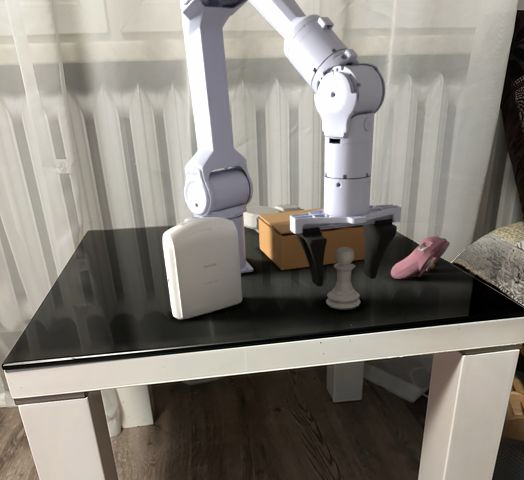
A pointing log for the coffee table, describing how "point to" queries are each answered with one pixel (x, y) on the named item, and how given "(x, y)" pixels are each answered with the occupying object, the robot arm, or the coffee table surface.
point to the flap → (283, 215)
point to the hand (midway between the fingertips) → (344, 280)
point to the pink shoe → (421, 258)
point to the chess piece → (343, 282)
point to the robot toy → (254, 211)
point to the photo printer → (202, 266)
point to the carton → (292, 253)
